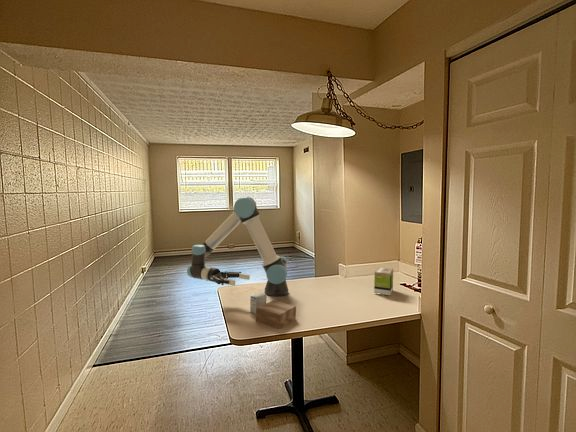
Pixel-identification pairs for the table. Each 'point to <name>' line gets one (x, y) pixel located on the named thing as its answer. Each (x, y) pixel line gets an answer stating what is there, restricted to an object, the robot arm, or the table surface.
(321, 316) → the table surface
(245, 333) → the table surface
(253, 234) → the robot arm
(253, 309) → the medicine box
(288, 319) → the walnut block
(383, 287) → the tea box
